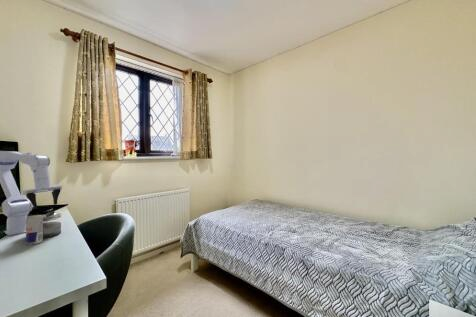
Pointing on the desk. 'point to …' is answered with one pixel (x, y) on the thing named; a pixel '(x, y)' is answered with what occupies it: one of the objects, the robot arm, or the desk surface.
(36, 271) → the desk surface
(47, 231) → the grey metal cylinder
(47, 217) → the small frying pan
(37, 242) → the energy drink
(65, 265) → the desk surface
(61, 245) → the desk surface
